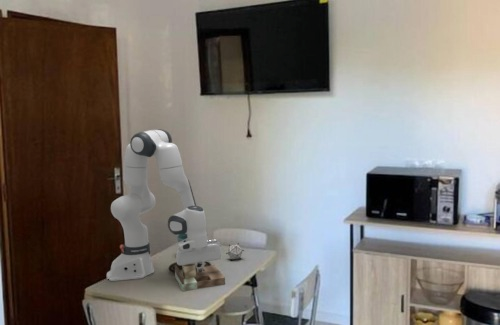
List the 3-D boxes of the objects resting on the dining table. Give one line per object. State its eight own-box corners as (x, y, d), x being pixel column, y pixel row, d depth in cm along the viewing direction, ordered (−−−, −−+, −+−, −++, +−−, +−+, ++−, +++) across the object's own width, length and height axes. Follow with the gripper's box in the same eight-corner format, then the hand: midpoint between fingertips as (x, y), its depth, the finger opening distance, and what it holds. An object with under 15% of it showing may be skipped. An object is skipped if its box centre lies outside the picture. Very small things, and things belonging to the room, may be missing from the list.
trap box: (182, 291, 217) (181, 277, 216) (175, 277, 235) (174, 264, 234) (225, 284, 222) (224, 271, 222) (214, 271, 240) (214, 259, 240)
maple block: (185, 278, 223) (183, 267, 223) (183, 275, 228) (182, 264, 228) (196, 276, 225) (195, 265, 224) (194, 272, 230) (192, 262, 229)
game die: (238, 267, 256) (241, 255, 249) (222, 261, 257) (225, 249, 250) (244, 254, 262) (247, 242, 256) (229, 248, 264) (231, 236, 257)
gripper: (218, 237, 233) (220, 266, 234) (174, 243, 226) (176, 273, 228) (221, 240, 227) (223, 269, 228) (176, 246, 220) (179, 277, 222)
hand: (199, 271), depth 228 cm, fingers closed
